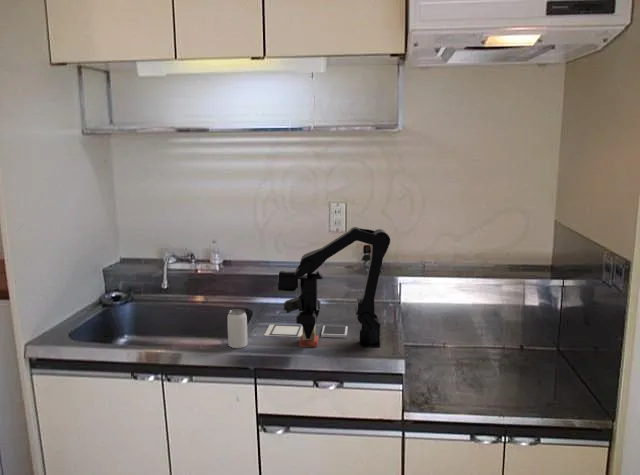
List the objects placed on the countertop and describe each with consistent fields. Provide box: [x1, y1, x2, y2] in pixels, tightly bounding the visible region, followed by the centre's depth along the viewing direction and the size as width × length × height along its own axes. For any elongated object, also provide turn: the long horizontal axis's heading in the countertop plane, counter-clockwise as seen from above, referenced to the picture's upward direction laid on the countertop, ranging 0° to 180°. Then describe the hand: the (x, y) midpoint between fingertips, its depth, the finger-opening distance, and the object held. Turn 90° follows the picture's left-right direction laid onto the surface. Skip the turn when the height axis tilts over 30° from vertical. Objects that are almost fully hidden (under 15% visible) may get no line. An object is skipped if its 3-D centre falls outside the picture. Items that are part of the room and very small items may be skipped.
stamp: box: [298, 324, 320, 348], centre depth 176 cm, size 6×6×9 cm
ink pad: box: [320, 325, 349, 339], centre depth 187 cm, size 9×9×1 cm
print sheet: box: [263, 324, 303, 338], centre depth 189 cm, size 14×11×1 cm
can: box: [226, 308, 248, 349], centre depth 174 cm, size 6×6×12 cm
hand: (309, 335), depth 176 cm, fingers open, 6 cm apart
